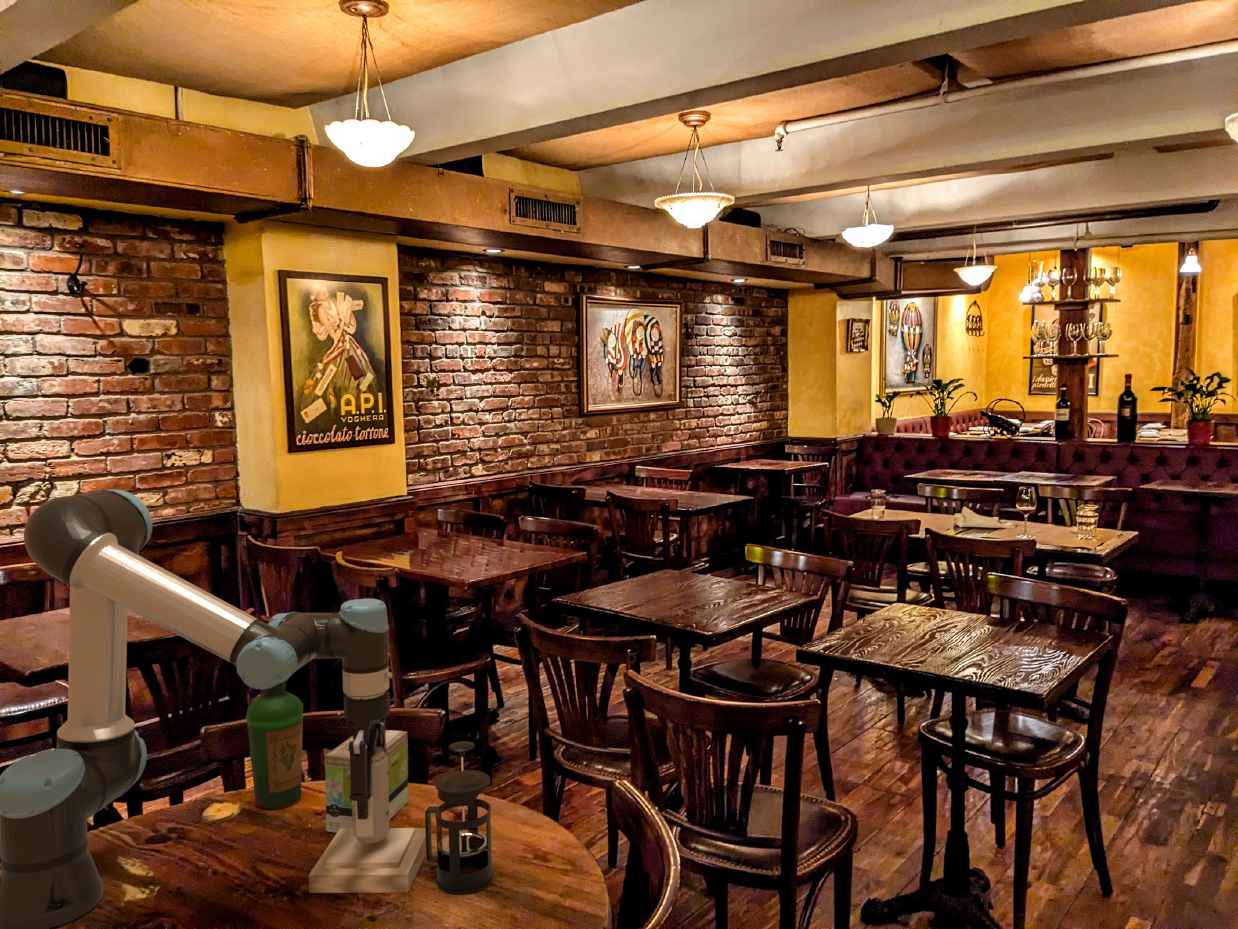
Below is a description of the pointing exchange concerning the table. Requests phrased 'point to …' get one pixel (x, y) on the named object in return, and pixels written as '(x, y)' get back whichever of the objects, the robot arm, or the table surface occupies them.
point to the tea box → (340, 780)
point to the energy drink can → (377, 799)
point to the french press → (461, 845)
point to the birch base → (369, 863)
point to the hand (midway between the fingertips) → (370, 825)
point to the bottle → (276, 747)
